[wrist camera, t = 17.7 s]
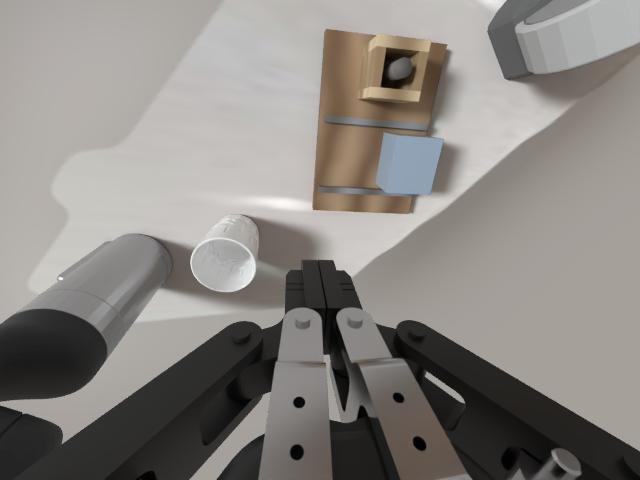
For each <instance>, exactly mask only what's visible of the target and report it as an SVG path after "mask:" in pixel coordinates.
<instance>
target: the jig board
mask: <svg viewBox="0 0 640 480" xmlns="http://www.w3.org/2000/svg"><path fill="white" fill-rule="evenodd" d="M376 36H377V35H369V34H361V33H353V32H345V31H337V30H330V29H326V30H325V34H324V48H323V63H322V77H321V91H320V106H319V120H318V134H317V149H316V163H315V177H314V192H313V206H312V207H313V210H327V211H351V212H375V213H399V214H409V209H410V205H411V200H412V196H413V194H402V193H386V192H385V191H384V190H383V189H381V188H380V187H379V186H378V185H377V184H375V183H376V177H377V171H378V165H379V159H380V153H381V146H382V140H383V134H384V132H386V133H398V134H411V135H423V136H426V135H427V130H428V126H429V122H430V117H431V113H432V109H433V104H434V100H435V95H436V91H437V87H438V82H439V78H440V74H441V69H442V65H443V60H444V56H445V52H446V47H447V44H440V43H432V42H431V44H430V49H429V54H428V59H427V64H426V69H425V74H424V78H423V83H422V88H421V93H420V98H419V102H408V103H392V102H381V101H370V100H359V99H358V90H359V82H360V74H361V65H362V57H363V48H364V46H365V45H366V44H367V43H369V42H370V41H371V40H372V39H373V38H374V37H376ZM411 71H412V62H411V60H410V59H409V58H406V57H403V58H401V59H398V60H387V59H384V66H383V73H382V80H381V86H380V87H381V88H391V89H394V86H395V80H399V79H402V78H405V77H407V76H408V75H409V74H410V73H411Z"/></svg>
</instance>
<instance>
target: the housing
mask: <svg viewBox="0 0 640 480" xmlns="http://www.w3.org/2000/svg"><path fill="white" fill-rule="evenodd" d="M443 141H444V139H441V138H436V137H430V136H423V135H411V134H398V133H386V132H384V134H383V140H382V146H381V153H380V159H379V165H378V171H377V177H376V183H375V184H377V185H378V186H379V187H380V188H381V189H383V190H384V191H385V192H386V193H402V194H421V195H430V192H431V188H432V184H433V180H434V176H435V172H436V169H437V165H438V161H439V157H440V153H441V149H442V145H443Z"/></svg>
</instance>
